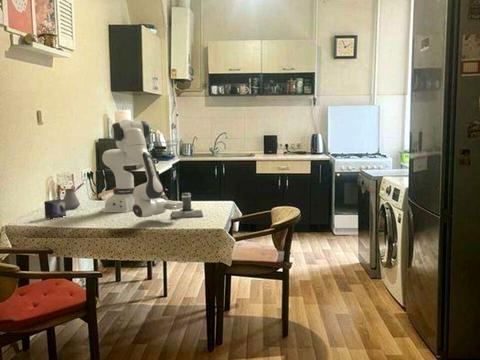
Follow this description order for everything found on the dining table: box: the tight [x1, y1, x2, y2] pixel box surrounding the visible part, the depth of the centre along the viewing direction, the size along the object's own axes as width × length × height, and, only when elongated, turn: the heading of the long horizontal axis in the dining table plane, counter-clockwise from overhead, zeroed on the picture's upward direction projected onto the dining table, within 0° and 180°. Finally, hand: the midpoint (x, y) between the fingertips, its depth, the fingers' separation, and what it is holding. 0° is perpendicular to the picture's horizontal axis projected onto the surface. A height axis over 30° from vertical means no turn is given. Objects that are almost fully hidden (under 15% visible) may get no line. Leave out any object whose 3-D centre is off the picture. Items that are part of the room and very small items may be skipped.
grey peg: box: [181, 192, 192, 211], centre depth 288 cm, size 5×5×12 cm
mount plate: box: [171, 208, 204, 220], centre depth 289 cm, size 18×16×3 cm
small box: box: [43, 198, 67, 220], centre depth 291 cm, size 11×6×10 cm, turn 148°
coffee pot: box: [62, 182, 86, 210], centre depth 323 cm, size 21×12×15 cm, turn 162°
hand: (176, 202), depth 281 cm, fingers open, 8 cm apart
